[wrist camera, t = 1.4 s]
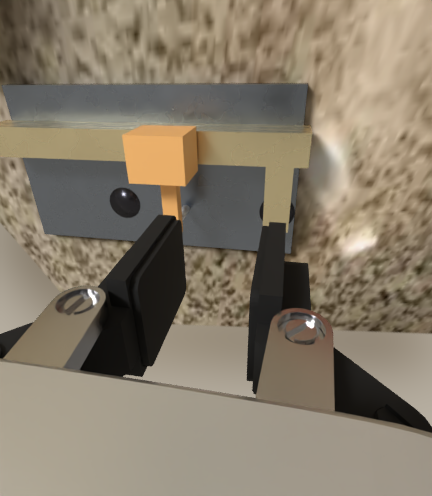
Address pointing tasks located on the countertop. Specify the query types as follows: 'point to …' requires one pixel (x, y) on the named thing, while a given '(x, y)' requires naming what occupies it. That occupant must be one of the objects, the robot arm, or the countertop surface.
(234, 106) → the drilled steel plate with beam
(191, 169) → the sliding head
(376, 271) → the countertop surface
